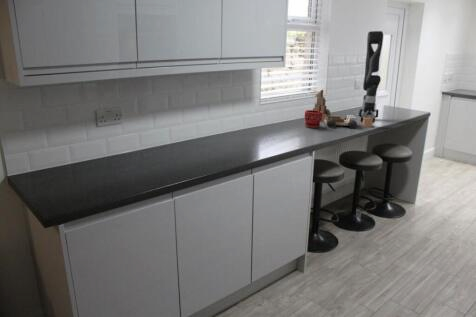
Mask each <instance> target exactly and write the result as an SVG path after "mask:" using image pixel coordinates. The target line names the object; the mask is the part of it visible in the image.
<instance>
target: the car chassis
mask: <svg viewBox="0 0 476 317" xmlns="http://www.w3.org/2000/svg"><path fill="white" fill-rule="evenodd" d="M323 123H325V125H326V126H327V127H328V128H334V127H335V126H348V127H349V128H350V129H355V128H356V127H357V125H358V123H357V117H356V116H355V115H353V114H347V115H346V116H345V117H344V118H343V117H342V116H334V115H333V116H331V115H330V116H329V115H327V116H325V117H324V122H323Z"/></svg>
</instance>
